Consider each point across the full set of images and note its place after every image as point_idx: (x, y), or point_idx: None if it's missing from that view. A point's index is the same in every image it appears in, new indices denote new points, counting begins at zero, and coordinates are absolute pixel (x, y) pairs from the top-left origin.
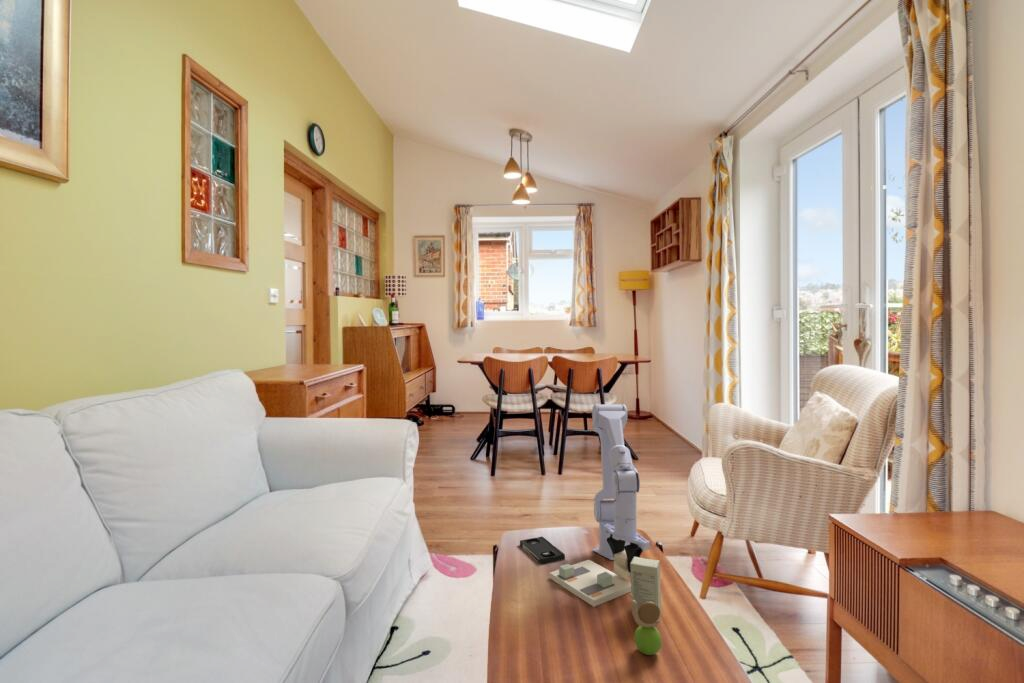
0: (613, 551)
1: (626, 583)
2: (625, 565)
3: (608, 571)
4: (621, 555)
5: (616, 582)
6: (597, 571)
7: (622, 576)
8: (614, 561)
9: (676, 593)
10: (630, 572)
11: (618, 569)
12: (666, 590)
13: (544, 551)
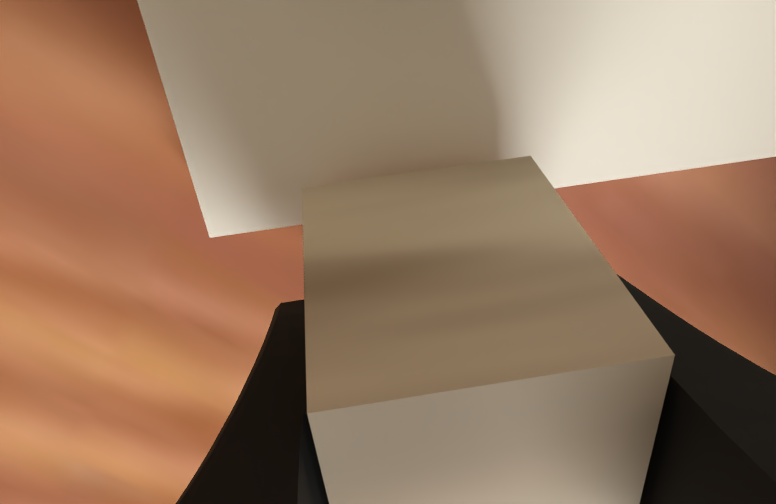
0: (742, 400)
1: (266, 160)
2: (305, 324)
3: (652, 148)
4: (521, 441)
5: (357, 52)
6: (768, 8)
7: (359, 187)
8: (592, 260)
9: (28, 470)
10: (279, 309)
11: (460, 215)
12: (105, 436)
13: None
